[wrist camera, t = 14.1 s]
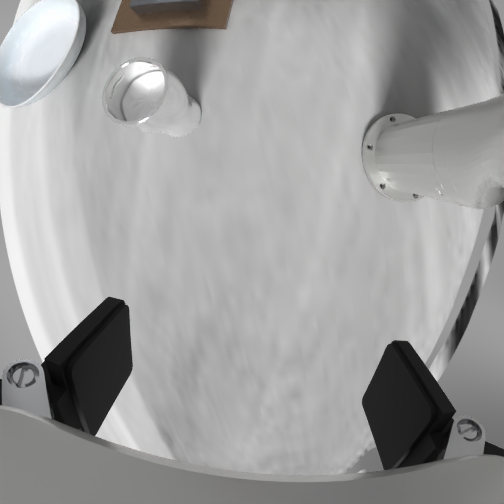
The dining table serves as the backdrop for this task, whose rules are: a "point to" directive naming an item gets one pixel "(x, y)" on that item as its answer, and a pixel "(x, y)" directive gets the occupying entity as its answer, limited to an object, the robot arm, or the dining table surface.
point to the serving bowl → (40, 51)
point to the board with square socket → (171, 14)
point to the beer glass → (150, 99)
